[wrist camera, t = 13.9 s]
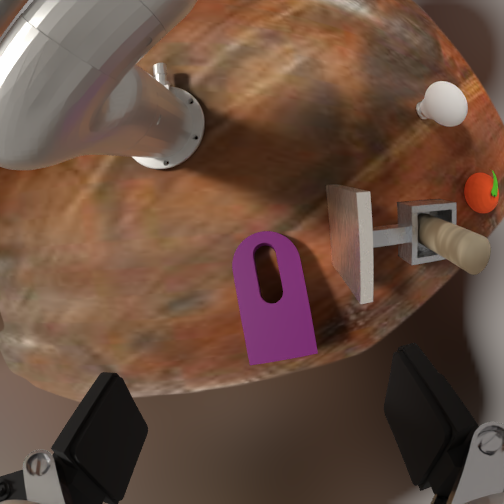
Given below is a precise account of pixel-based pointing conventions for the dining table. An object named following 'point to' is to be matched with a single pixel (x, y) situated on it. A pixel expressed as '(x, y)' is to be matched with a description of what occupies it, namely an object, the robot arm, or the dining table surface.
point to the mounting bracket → (273, 314)
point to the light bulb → (443, 104)
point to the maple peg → (454, 243)
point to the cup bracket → (375, 234)
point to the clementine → (481, 192)
